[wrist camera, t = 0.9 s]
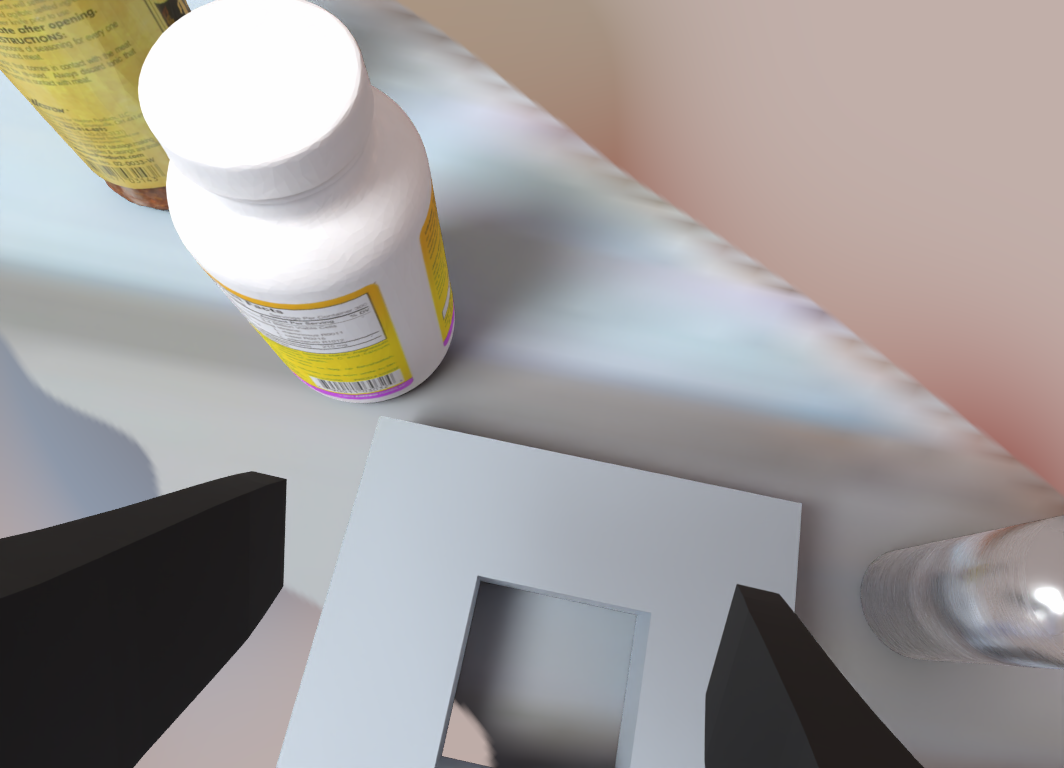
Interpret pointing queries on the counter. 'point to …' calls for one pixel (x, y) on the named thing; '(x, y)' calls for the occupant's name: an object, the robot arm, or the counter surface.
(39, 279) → the counter surface
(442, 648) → the bore block
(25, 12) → the sauce bottle
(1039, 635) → the round bit
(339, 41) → the supplement bottle
